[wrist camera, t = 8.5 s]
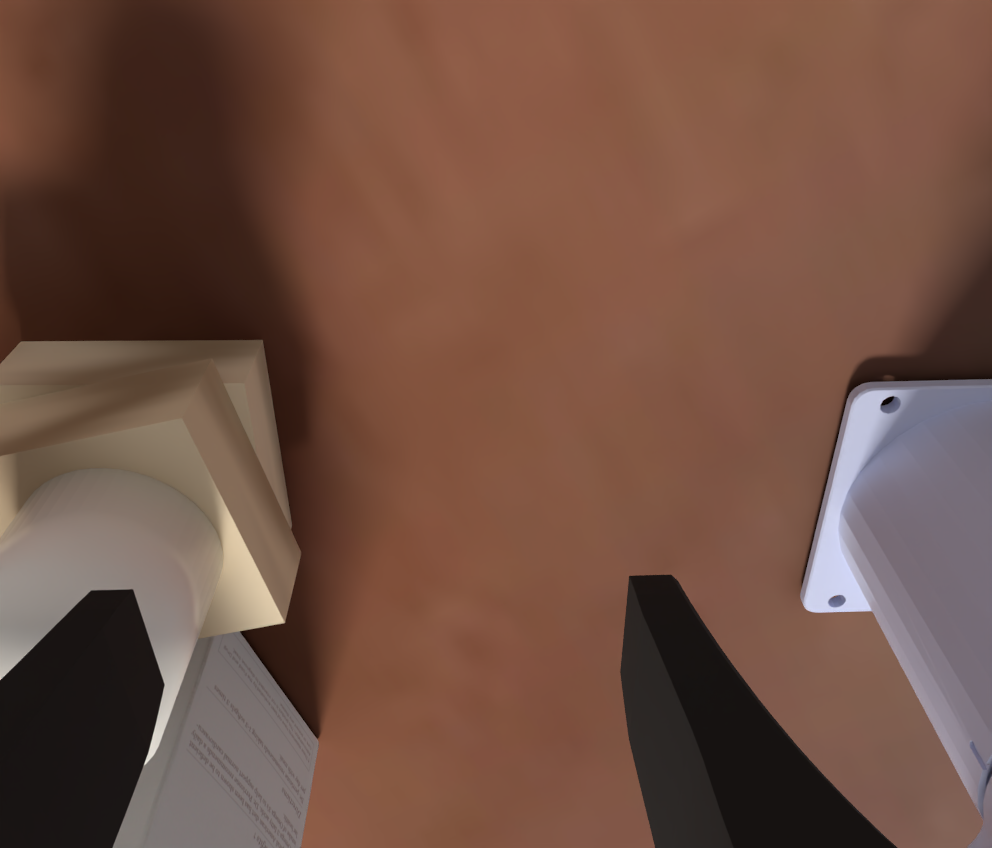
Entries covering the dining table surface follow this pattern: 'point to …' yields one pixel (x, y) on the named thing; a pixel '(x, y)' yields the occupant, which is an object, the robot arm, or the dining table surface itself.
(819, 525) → the robot arm
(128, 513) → the ceramic jar
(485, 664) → the dining table surface
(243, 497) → the oak slab top
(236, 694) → the supplement box
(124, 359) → the oak slab bottom
